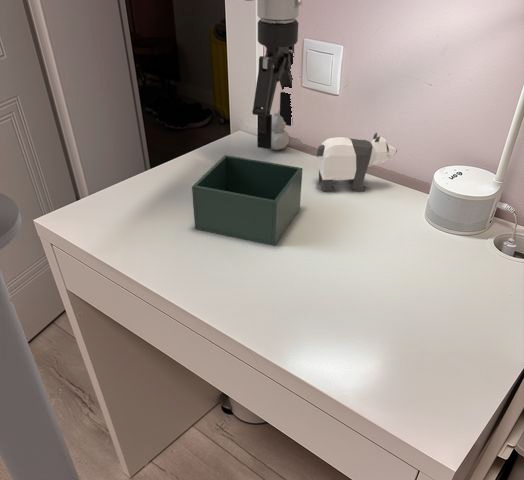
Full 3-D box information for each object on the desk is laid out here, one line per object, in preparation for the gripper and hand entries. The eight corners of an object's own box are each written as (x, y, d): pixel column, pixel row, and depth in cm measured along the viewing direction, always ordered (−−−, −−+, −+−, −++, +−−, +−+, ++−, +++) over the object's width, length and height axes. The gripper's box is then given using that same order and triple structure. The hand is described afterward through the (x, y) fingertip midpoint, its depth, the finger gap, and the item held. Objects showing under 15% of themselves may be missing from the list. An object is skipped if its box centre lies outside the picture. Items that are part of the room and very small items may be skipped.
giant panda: (316, 192, 99) (321, 141, 93) (312, 179, 103) (316, 129, 97) (393, 191, 100) (403, 139, 94) (386, 178, 104) (395, 128, 98)
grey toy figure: (293, 150, 113) (295, 111, 108) (265, 156, 111) (266, 116, 106) (281, 141, 117) (283, 103, 112) (254, 146, 115) (254, 107, 109)
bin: (194, 228, 89) (191, 186, 84) (226, 194, 98) (224, 154, 93) (275, 245, 86) (276, 202, 80) (299, 208, 95) (302, 167, 90)
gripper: (274, 36, 88) (272, 161, 103) (316, 7, 106) (309, 118, 120) (232, 32, 90) (236, 155, 105) (280, 4, 107) (278, 113, 122)
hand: (275, 135), depth 112 cm, fingers open, 13 cm apart
